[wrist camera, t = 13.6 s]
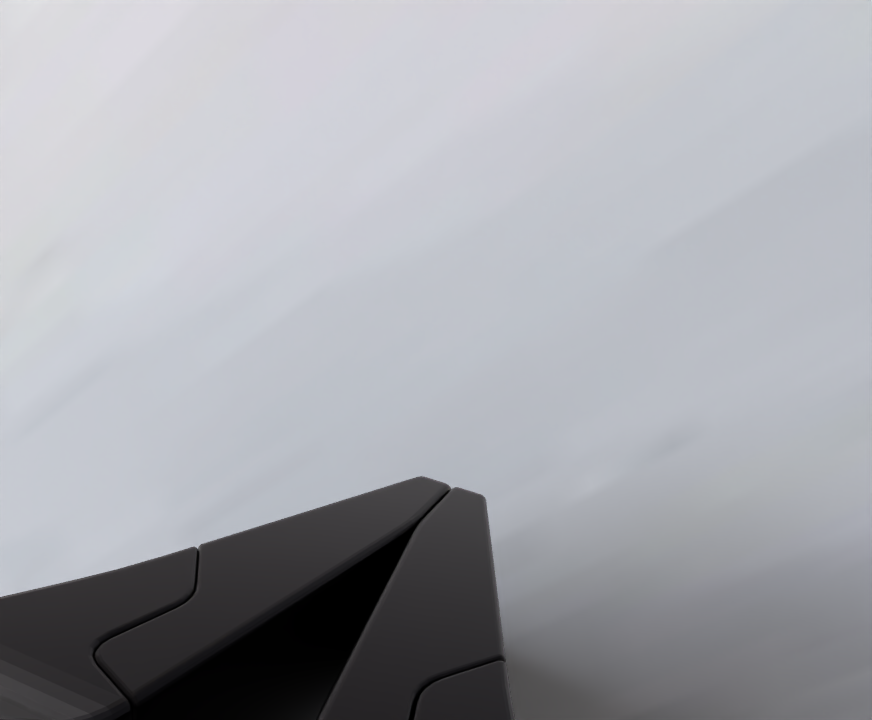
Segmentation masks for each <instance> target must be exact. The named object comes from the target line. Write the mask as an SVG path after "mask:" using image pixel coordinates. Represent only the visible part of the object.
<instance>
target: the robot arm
mask: <svg viewBox="0 0 872 720" xmlns="http://www.w3.org/2000/svg"><path fill="white" fill-rule="evenodd" d="M505 662H506V658H505V650H504V642H503V634H502V626H501V618H500V610H499V602H498V594H497V586H496V577H495V569H494V561H493V553H492V545H491V537H490V529H489V521H488V513H487V505H486V499H485V497H484V496H483V495H481V494H478V493H474V492H471V491H468V490H465V489H462V488H458V487H455V488H453V489H451V487H450V486H449V485H447V484H446V483H443V482H439V481H436V480H433V479H430V478H427V477H422V476H420V477H416V478H412V479H409V480H406V481H403V482H400V483H396V484H393V485H390V486H387V487H384V488H380V489H377V490H374V491H371V492H368V493H364V494H361V495H358V496H355V497H352V498H348V499H345V500H342V501H339V502H336V503H332V504H329V505H326V506H323V507H320V508H316V509H313V510H310V511H307V512H304V513H300V514H297V515H294V516H291V517H288V518H284V519H281V520H278V521H275V522H272V523H268V524H265V525H262V526H259V527H255V528H252V529H249V530H246V531H243V532H239V533H236V534H233V535H230V536H227V537H223V538H220V539H217V540H214V541H210V542H207V543H204V544H201V545H200V546H199V547H198V549H197V548H196V547H191V548H188V549H184V550H181V551H178V552H175V553H172V554H168V555H165V556H162V557H158V558H155V559H151V560H148V561H144V562H141V563H138V564H134V565H131V566H127V567H124V568H120V569H117V570H113V571H109V572H105V573H101V574H97V575H92V576H88V577H84V578H80V579H76V580H72V581H68V582H64V583H59V584H55V585H51V586H46V587H42V588H38V589H33V590H29V591H25V592H20V593H16V594H12V595H7V596H3V597H0V720H515V717H514V711H513V705H512V700H511V694H510V687H509V679H508V671H507V665H506V663H505Z"/></svg>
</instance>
